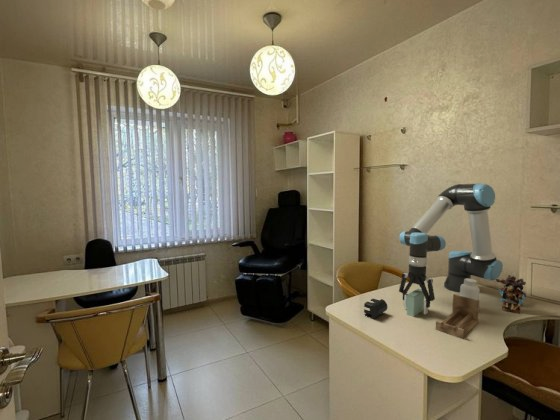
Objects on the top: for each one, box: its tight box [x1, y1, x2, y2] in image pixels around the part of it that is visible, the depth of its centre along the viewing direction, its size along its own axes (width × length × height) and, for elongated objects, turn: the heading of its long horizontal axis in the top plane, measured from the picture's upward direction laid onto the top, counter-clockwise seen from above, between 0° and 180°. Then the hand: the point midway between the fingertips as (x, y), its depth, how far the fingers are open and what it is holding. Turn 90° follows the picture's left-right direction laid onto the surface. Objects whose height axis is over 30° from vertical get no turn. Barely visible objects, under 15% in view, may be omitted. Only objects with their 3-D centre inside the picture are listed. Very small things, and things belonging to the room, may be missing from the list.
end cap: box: [363, 298, 388, 319], centre depth 132 cm, size 10×7×7 cm
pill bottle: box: [459, 278, 481, 301], centre depth 139 cm, size 8×8×15 cm
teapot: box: [497, 287, 526, 306], centre depth 147 cm, size 12×6×8 cm, turn 35°
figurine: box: [495, 274, 527, 314], centre depth 137 cm, size 11×9×18 cm
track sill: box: [435, 294, 480, 340], centre depth 122 cm, size 10×22×10 cm, turn 131°
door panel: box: [406, 288, 425, 318], centre depth 135 cm, size 3×12×10 cm, turn 131°
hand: (415, 310), depth 135 cm, fingers open, 9 cm apart
